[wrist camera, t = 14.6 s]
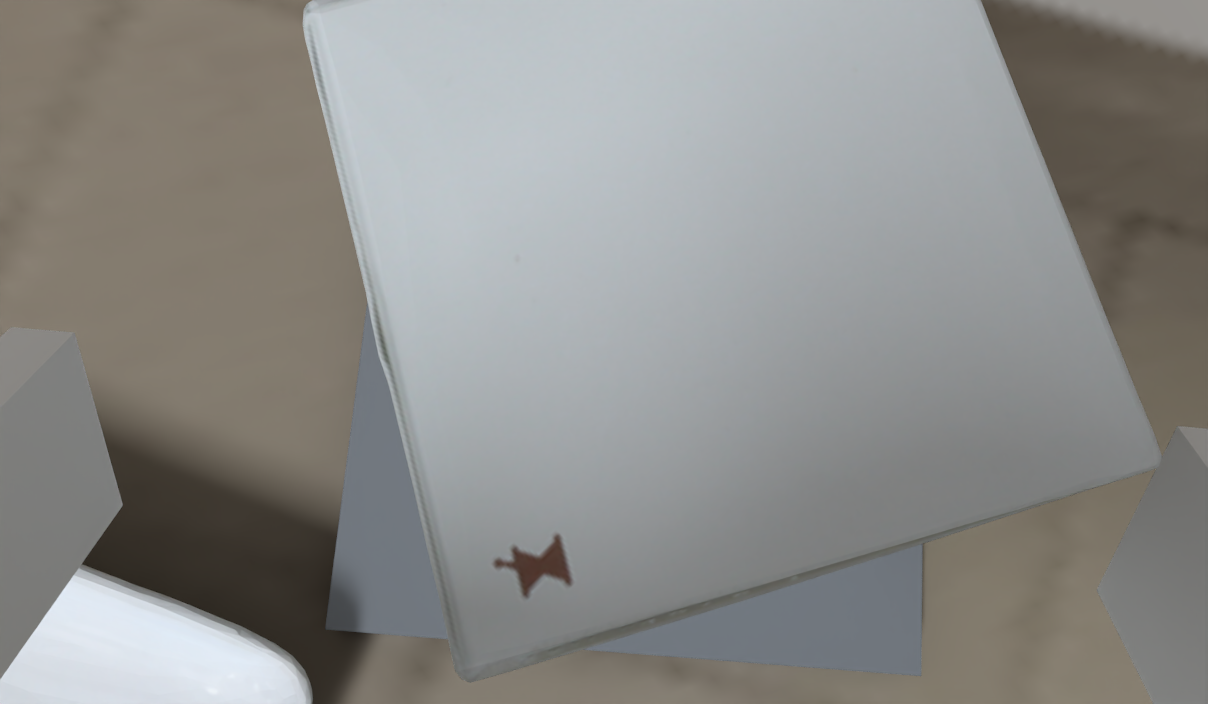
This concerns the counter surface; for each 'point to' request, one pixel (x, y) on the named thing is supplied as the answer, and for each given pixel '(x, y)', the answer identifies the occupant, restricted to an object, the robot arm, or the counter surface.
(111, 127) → the counter surface
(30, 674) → the salad plate
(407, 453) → the supplement box
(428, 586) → the rubber mat
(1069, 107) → the counter surface
